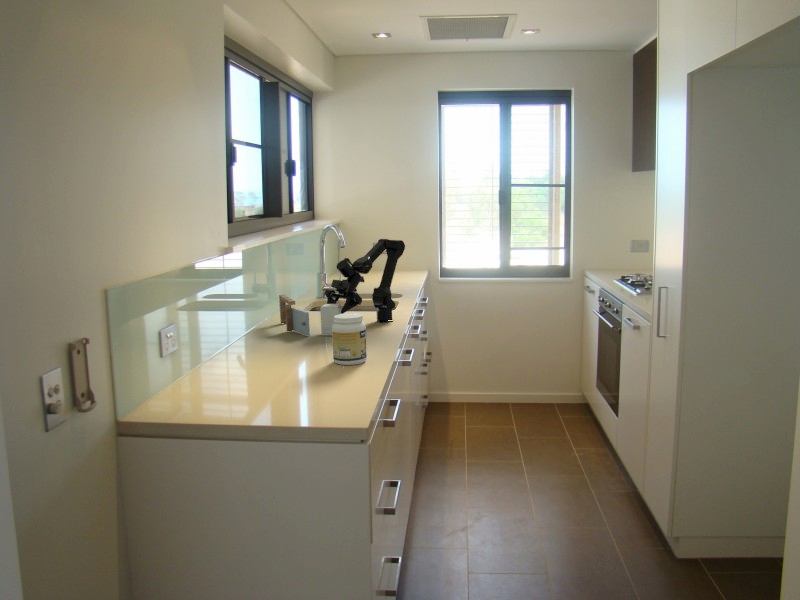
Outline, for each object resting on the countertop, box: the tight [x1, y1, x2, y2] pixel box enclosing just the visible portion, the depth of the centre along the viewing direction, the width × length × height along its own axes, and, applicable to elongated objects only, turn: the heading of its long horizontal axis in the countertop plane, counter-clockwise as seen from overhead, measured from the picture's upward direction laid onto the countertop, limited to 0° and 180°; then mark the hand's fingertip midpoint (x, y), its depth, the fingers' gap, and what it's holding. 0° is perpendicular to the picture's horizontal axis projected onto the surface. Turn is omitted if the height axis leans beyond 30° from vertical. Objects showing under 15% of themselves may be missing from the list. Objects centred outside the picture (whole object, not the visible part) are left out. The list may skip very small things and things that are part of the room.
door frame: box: [278, 294, 296, 332], centre depth 318 cm, size 22×4×14 cm, turn 22°
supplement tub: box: [331, 312, 368, 366], centre depth 251 cm, size 12×12×17 cm
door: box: [291, 307, 311, 337], centre depth 303 cm, size 16×2×10 cm, turn 32°
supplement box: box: [319, 303, 342, 337], centre depth 300 cm, size 7×7×13 cm
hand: (333, 312), depth 301 cm, fingers open, 9 cm apart
